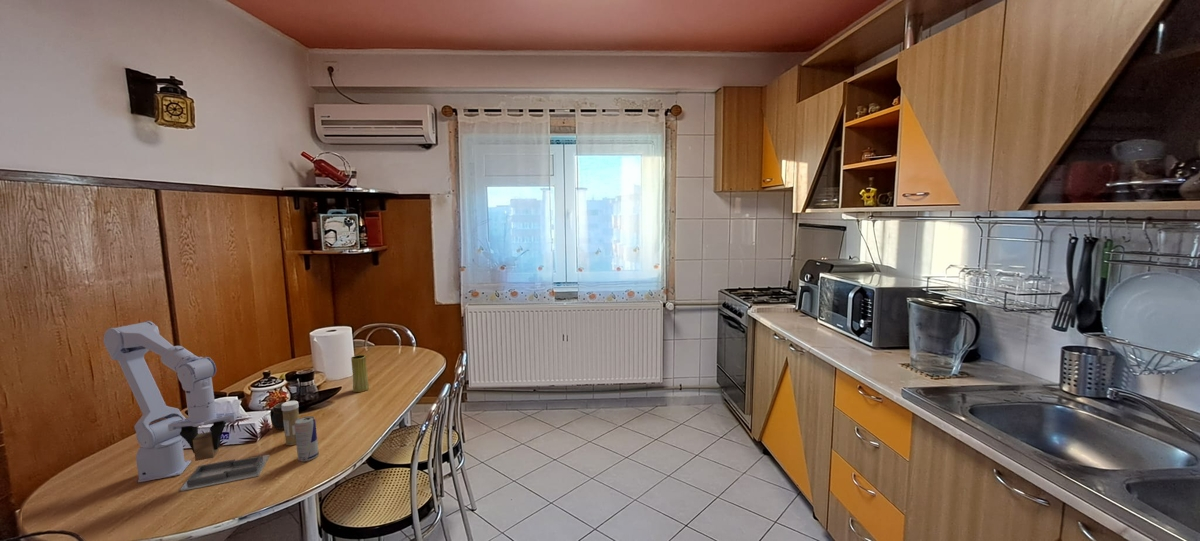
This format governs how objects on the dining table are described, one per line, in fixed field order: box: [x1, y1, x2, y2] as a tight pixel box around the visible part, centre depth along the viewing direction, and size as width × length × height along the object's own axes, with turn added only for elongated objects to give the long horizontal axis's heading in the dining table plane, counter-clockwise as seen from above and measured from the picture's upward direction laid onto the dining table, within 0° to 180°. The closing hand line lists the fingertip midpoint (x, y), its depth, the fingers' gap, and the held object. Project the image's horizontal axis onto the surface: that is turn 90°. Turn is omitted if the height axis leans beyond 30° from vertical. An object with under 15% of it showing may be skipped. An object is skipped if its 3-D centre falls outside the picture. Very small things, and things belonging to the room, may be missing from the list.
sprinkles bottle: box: [281, 400, 300, 446], centre depth 152 cm, size 5×5×14 cm
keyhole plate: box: [179, 454, 270, 492], centre depth 135 cm, size 18×12×2 cm
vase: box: [350, 354, 370, 393], centre depth 197 cm, size 6×6×14 cm
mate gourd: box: [271, 396, 297, 430], centre depth 164 cm, size 7×8×10 cm
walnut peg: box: [193, 431, 219, 461], centre depth 130 cm, size 4×4×6 cm
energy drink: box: [295, 415, 319, 463], centre depth 142 cm, size 5×5×12 cm
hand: (206, 449), depth 131 cm, fingers closed on walnut peg, 4 cm apart
